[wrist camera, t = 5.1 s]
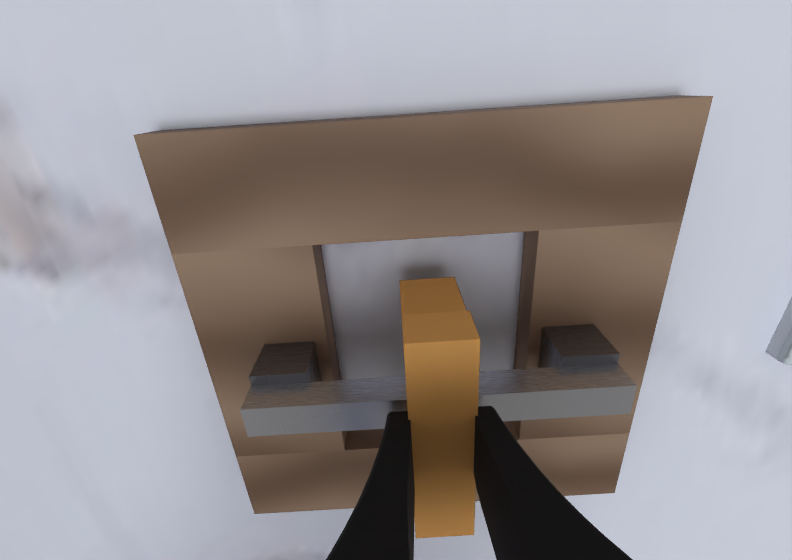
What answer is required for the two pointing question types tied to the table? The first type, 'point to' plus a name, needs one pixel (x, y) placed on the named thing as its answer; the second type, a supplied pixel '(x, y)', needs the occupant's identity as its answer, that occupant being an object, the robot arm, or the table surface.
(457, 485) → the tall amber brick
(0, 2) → the table surface
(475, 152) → the brown wooden frame
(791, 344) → the hard drive
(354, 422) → the hook bar
